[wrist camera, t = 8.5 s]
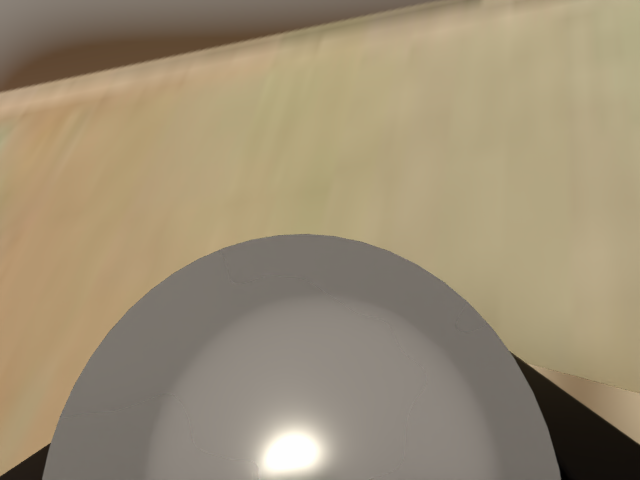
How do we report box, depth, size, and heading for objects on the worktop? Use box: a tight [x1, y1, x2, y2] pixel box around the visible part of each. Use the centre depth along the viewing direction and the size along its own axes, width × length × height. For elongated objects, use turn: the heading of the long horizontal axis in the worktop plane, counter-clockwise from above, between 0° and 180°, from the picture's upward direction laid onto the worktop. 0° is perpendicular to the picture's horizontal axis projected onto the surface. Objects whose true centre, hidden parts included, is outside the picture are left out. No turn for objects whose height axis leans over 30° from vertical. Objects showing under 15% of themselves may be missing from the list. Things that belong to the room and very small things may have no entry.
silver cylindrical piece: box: [42, 234, 561, 480], centre depth 9 cm, size 6×6×10 cm
